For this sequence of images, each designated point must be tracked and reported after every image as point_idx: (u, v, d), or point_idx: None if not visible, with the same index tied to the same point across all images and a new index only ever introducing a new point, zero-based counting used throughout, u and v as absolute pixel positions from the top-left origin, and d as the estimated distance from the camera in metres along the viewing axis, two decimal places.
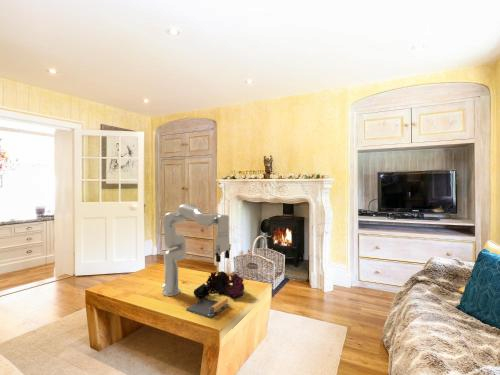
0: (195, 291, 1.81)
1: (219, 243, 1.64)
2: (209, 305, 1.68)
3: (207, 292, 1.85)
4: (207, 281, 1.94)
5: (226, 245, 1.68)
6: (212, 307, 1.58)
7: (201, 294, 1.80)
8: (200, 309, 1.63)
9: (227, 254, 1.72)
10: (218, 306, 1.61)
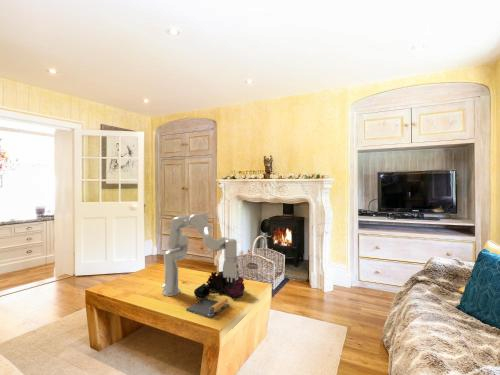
0: (195, 291, 1.81)
1: None
2: (209, 305, 1.68)
3: (207, 292, 1.86)
4: (207, 281, 1.95)
5: (229, 272, 1.61)
6: (212, 307, 1.58)
7: (201, 294, 1.80)
8: (200, 309, 1.63)
9: None
10: (218, 306, 1.61)
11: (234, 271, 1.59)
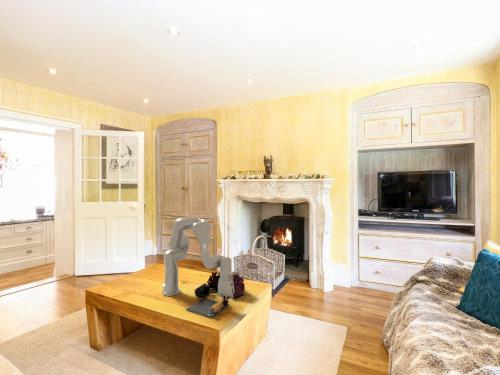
0: (196, 290, 1.82)
1: None
2: (209, 305, 1.68)
3: (208, 292, 1.86)
4: (208, 281, 1.95)
5: (224, 290, 1.63)
6: (212, 307, 1.58)
7: (202, 294, 1.81)
8: (200, 309, 1.63)
9: None
10: (218, 306, 1.62)
11: (229, 290, 1.61)
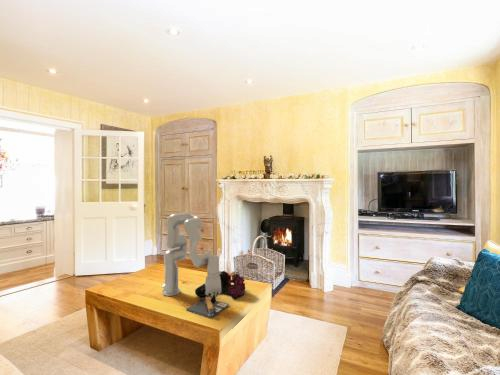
0: (196, 290, 1.82)
1: (206, 284, 1.66)
2: None
3: None
4: None
5: (215, 287, 1.66)
6: (211, 307, 1.58)
7: (202, 293, 1.81)
8: (200, 309, 1.63)
9: None
10: (211, 305, 1.63)
11: (220, 285, 1.67)
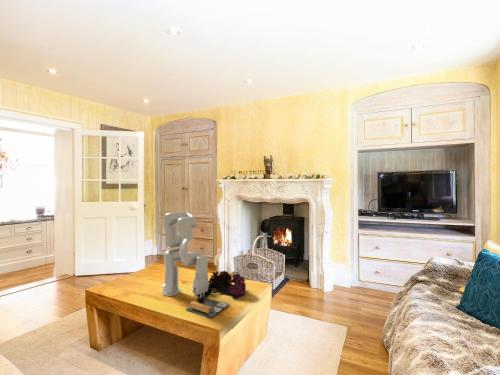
0: None
1: (196, 285, 1.61)
2: (209, 305, 1.68)
3: (209, 291, 1.87)
4: None
5: (204, 287, 1.64)
6: (210, 307, 1.58)
7: None
8: None
9: None
10: None
11: (207, 284, 1.67)
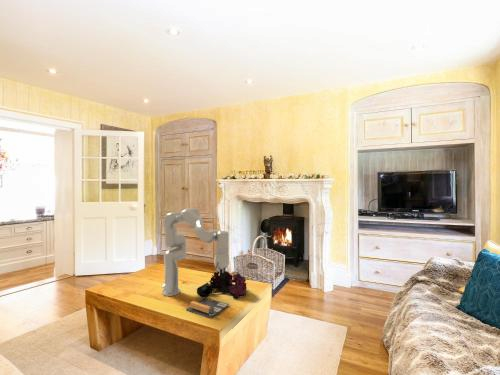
0: (198, 289, 1.84)
1: (219, 260, 1.64)
2: (209, 305, 1.68)
3: (210, 291, 1.88)
4: (210, 280, 1.97)
5: (226, 261, 1.68)
6: (210, 307, 1.58)
7: (203, 293, 1.82)
8: None
9: None
10: None
11: (228, 259, 1.71)
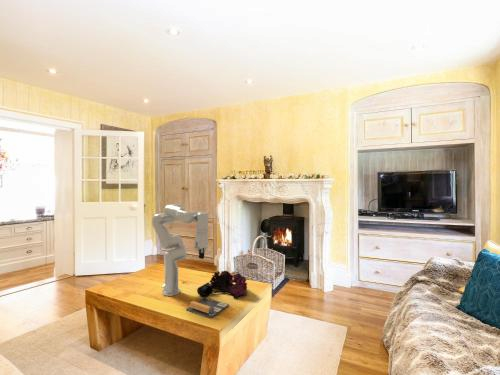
0: (198, 289, 1.84)
1: (198, 240, 1.67)
2: (209, 305, 1.68)
3: (210, 291, 1.88)
4: (211, 280, 1.97)
5: (205, 242, 1.71)
6: (210, 307, 1.58)
7: (204, 292, 1.83)
8: None
9: None
10: None
11: (208, 240, 1.74)
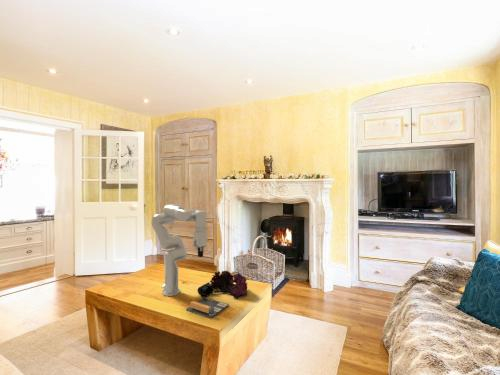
0: (199, 289, 1.84)
1: (196, 238, 1.67)
2: (209, 305, 1.68)
3: (211, 291, 1.88)
4: (211, 280, 1.97)
5: (204, 240, 1.71)
6: (210, 307, 1.58)
7: (204, 292, 1.83)
8: None
9: None
10: None
11: (206, 238, 1.74)
